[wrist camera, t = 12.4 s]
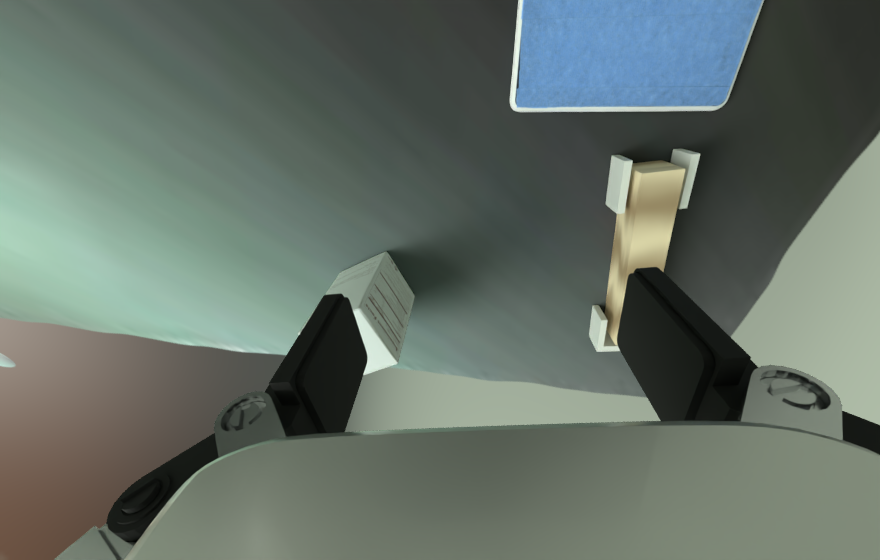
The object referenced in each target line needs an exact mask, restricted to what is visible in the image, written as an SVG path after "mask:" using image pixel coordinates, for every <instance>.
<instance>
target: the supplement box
mask: <svg viewBox="0 0 880 560" xmlns="http://www.w3.org/2000/svg"><path fill="white" fill-rule="evenodd" d="M340 293H341V294H343V296H344V297H348V298H349V300H350V303H351V306H352V309H353V312H354V315H355V318H356V321H357V325H358V328H359V331H360V334H361V337H362V340H363V343H364V346H365V349H366V352H367V357H368V360H367V365H366V368H365V371H364V374H363V375H366V374H369V373H372V372H374V371H377V370H380V369H383V368H386V367H389V366H392V365H395V364H398V361H399V357H400V353H401V349H402V345H403V342H404V338H405V334H406V330H407V326H408V322H409V318H410V314H411V310H412V306H413V302H414V298H415V295H414V294H413V292H412V290H411V289H410V287H409V286H408V284H407V282H406V281H405V279H404V278H403V276H402V274H401V273H400V271H399V270H398V268H397V266H396V265H395V263H394V262H393V260H392V259H391V257H390V255H389V254H388V252H387V251H386V252H383V253H381V254H379V255H376V256H374V257H372V258H370V259H368V260H366V261H364V262H361V263H359V264H357V265H355V266H353V267H351V268H349V269H346V270H344V271H342V272H340V274H339V275H338V277H337V278H336V279H335V281H334V282H333V284H332V285H331V287H330V288H329V290H328V291H327V292H326V294H325V295H328V294H340ZM319 303H320V302H319ZM317 306H318V305H317ZM315 309H316V308H315ZM314 311H315V310H314ZM314 311H313V312H314ZM312 314H313V313H312ZM312 314H311V315H312ZM311 315H310V317H311ZM310 317H309V318H308V320H309V319H310ZM308 320H307V321H306V323H307V322H308ZM306 323H305V324H304V325H303V327H302V328H301V330H300V331H299V333H298V335H300V333H301V331H302V330H303V328H304V327H305V325H306Z"/></svg>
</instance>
